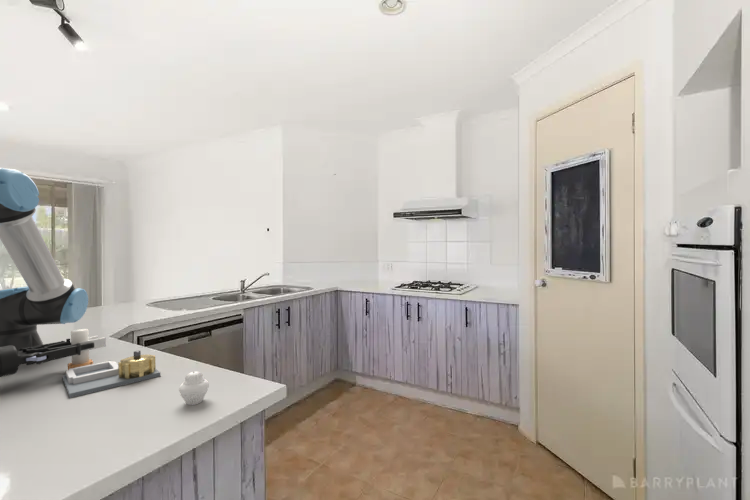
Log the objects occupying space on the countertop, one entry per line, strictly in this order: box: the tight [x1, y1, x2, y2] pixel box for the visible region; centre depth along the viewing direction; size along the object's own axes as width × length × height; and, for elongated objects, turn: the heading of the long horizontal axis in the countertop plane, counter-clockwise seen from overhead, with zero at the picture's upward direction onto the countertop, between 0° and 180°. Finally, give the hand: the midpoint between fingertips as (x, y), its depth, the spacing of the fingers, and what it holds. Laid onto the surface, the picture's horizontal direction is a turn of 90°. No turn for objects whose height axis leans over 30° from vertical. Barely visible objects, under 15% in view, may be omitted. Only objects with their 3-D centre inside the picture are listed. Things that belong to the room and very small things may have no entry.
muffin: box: [178, 371, 210, 406], centre depth 80 cm, size 6×6×7 cm
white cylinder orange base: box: [67, 328, 94, 370], centre depth 105 cm, size 6×6×12 cm
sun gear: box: [117, 350, 157, 379], centre depth 97 cm, size 8×8×6 cm
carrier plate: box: [62, 360, 161, 399], centre depth 97 cm, size 18×19×2 cm
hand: (101, 341), depth 109 cm, fingers closed on white cylinder orange base, 4 cm apart
